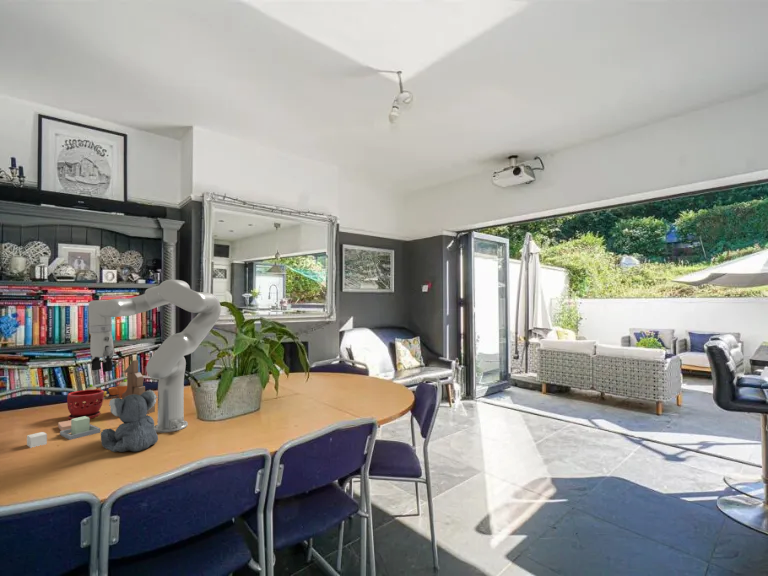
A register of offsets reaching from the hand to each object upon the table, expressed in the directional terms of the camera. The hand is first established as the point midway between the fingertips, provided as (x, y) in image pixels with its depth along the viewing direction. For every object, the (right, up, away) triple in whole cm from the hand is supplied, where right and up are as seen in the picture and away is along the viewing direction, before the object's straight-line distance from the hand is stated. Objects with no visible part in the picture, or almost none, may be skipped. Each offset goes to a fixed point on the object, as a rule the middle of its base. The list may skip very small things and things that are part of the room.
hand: (101, 370), depth 160 cm
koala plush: (+26, -24, -19) cm, 40 cm away
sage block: (-3, -24, -7) cm, 25 cm away
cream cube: (-10, -24, -19) cm, 32 cm away
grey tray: (-3, -24, -7) cm, 25 cm away
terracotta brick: (-13, -25, -1) cm, 28 cm away
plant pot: (-18, -25, +14) cm, 34 cm away
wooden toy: (0, -25, +23) cm, 34 cm away
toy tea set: (-34, -26, +54) cm, 69 cm away
